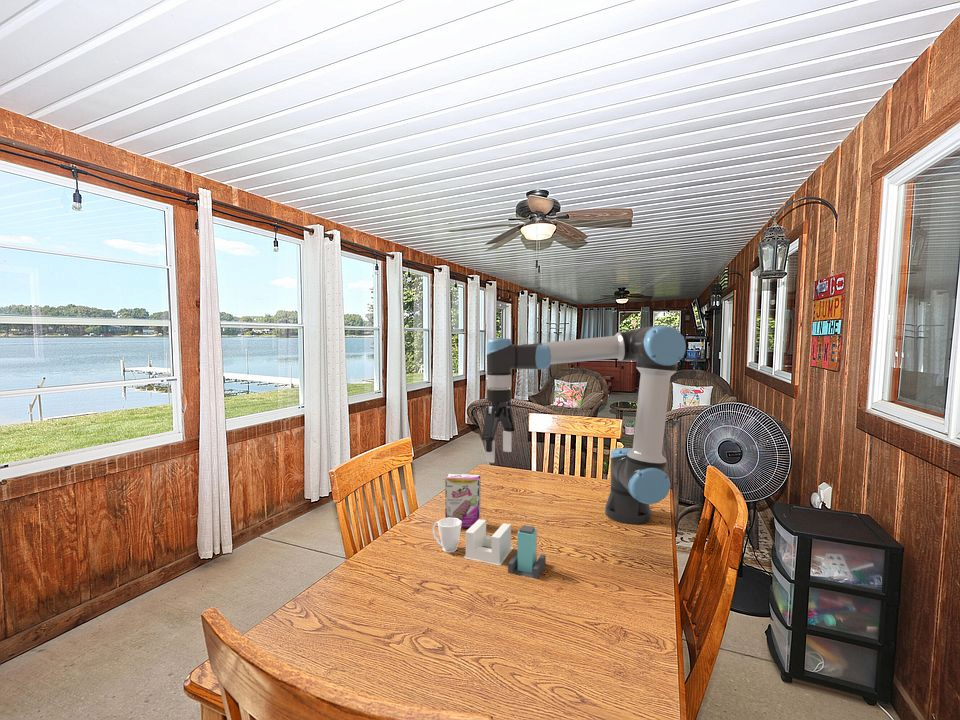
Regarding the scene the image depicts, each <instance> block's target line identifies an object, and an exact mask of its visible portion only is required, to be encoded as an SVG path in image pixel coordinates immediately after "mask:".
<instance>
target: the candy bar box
mask: <svg viewBox="0 0 960 720" xmlns="http://www.w3.org/2000/svg"><path fill="white" fill-rule="evenodd" d="M481 477H482V476H481V474H468V473H467V474H466V473H447V475H446V476H445V479H444V480H445V511H444V512H445V517H444V518H448V517H451V518H458V519H459V520H461V521H462V524H461V529H462V528H463V529H469V528H470V527H471V526H472V525H473V524H474V523H475V522H476V521H477V520H478V519H481V489H482V487H481V483H482V481H481Z"/></svg>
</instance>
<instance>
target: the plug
mask: <svg viewBox="0 0 960 720" xmlns="http://www.w3.org/2000/svg"><path fill="white" fill-rule="evenodd" d="M516 534H517V535H516V536H517V537H516V538H517V550H518V570H519V571H524V572H529V573H533V567H534V566H535V564H536V562H537V560H538V558H537V557H538V556H537V555H538V554H537V553H538V552H537V551H538V549H537V543H538V541H537V537H538V536H537V535H538V533H537V528H536V527H535V526H531V525H525V524H522V526H521V527H520V529H519V530H518V531H517V533H516Z"/></svg>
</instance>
